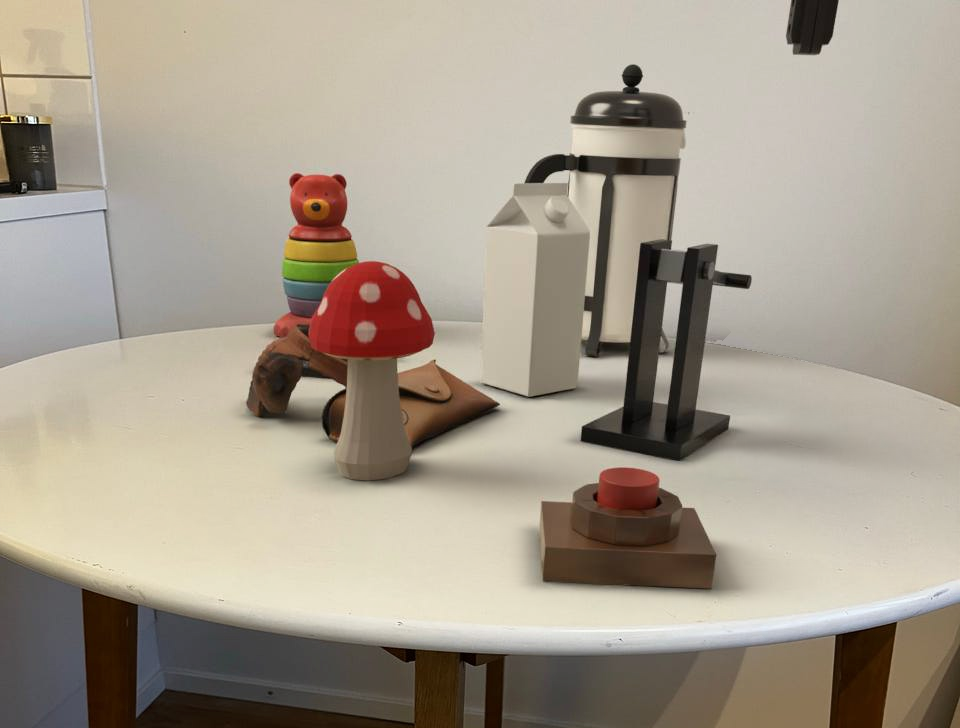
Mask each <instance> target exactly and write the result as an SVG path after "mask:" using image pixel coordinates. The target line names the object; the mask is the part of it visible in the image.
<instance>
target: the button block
mask: <svg viewBox="0 0 960 728" xmlns="http://www.w3.org/2000/svg"><path fill="white" fill-rule="evenodd" d="M598 486H599V482H594V483H587V484H585V485H583V486H581V487H579V488H578V489H575V490H574V491H573V492H572V500H571V502H568V501H548V500H542V501H541V502H540V515H539V529H538V535H539V546H540V547H539V548H540V549H539V550H540V561H541V578H542V581H543V582H553V583H554V582H555V583H575V584H577V583H578V584H595V585H596V584H598V585H599V584H600V585H617V586H619V585H621V586H638V587H639V586H640V587H641V586H642V587H660V588H661V587H664V588H666V587H667V588H685V589H704V590H705V589H709V590H711V589H712V588H713V581H714V576H715V575H714V574H715V568H716V561H717V553H716V551H715V549H714V546H713V544H712V542H711V540H710V538H709V536H708V534H707V532H706V530H705V528H704V525H703V523H702V521H701V519H700V516H699V515H698V513H697V511H696V509H695V507H683V504H682V502H681V500H680V497H679V496H678V495H677V494H674V493H672V492H671V491H668V490H666V489H664V488H662V487H659V489H658V497H657V505H656V507H655V508H654V509H648V510H642V511H633V510H619V509H614V508H610V507H606V506H603V505H601V504H600V503H598V502H597V497H598Z"/></svg>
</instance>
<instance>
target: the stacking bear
mask: <svg viewBox="0 0 960 728" xmlns="http://www.w3.org/2000/svg"><path fill="white" fill-rule="evenodd" d="M288 181H289V182H288V185H289V186H290V188H291V189H290V190H291V191H290V197H289V203H290V209H291V213H292V216H293V218H294V219H295V221H296V223H297V225H295V226H294V227H292V228H291V230H289V233H288V238H287V239H286V240H285V245H284V253H283V257H284V258H283V260H282V266H281V269H282V270H281V271H282V272H281V275H282V277H283V278H282V285H283V290H284V295H286V301H287V305H288V308H289V312H287V313H286V314H284V315H282V316H280V318H279V319H277V320H276V321H275V323H274V325H273V334H274V335H275V336H277V337H279V338H282V337H286V336H287V335H288V334H289V332H290V330H291V327H292V326H297V324H303V325H310V323H311V318H312V316H313V315H314V313H315V311H316V310H317V308H318V306H319V305H320V303H321V301H322V298H323V295H324V293H325V291H326V289H327V287H328V286H329V284H330V283H331V282H332V280H333V279H334V278H335V277H336V276H337V275H338V274H339V273H340V272H342V271H343V270H345V269H346V268H348V267H350V266H352V265H355V264H357V263H360V261H359V259H358V252H357V247H356V244H355V242H354V239H353V238H352V237H353V235H352V233H351V232H350V230H349V229H348V228H347V227H345V226H344V225H343V223H344V222H345V218H346V215H347V211H348V197H347V193H346V188H347V184H348V183H347V180H346V178H345V177H344V175H342V174H340V173H335V174H333V175H332V176H331V175H326V174H307V175H303V174H302V173H299V172H296V173H293V174H292V175H291V176H290V178H289V180H288Z"/></svg>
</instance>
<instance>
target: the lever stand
mask: <svg viewBox="0 0 960 728" xmlns="http://www.w3.org/2000/svg"><path fill="white" fill-rule="evenodd" d="M672 245H673V240H672V239H671V240H665V239H660V240H654V241H649V242H643V243H640V252H639V262H638V272H637V281H636V291H635V301H634V310H633V320H632V329H631V339H630V342H629V348H628V349H629V350H628V359H627V368H626V369H627V370H626V379H625V389H624V396H623V397H624V398H623V406H621V407H619V408H617V409H616V410H613V411H611V412H609V413H607V414H604V415H603V416H600V417H598V418H597V419H594V420H591V421H590V422H588V423H586V424H584V425H581V430H580V431H581V433H580V442H583V443H584V442H585V443H588V444H593V445H599V446H604V447H609V448H614V449H618V450H623V451H627V452H633V453H638V454H644V455H649V456H654V457H657V458H663V459H668V460H672V461H673V460H674V461H681V460H683V459H684V458H686V457H688V456H689V455H690V454H692V453H694V452H695V451H697V450H698V449H700V448H702V447H703V446H704V445H706V444H708V443H709V442H711V441H713V440H714V439H716V438H717V437H719V436H721V435H722V434H723V433H725V432H726V431H728V430H729V427H730V421H731V415H729V414H724V413H718V412H713V411H707V410H702V409H697V404H698V403H697V402H698V396H699V395H698V394H699V388H700V380H701V374H702V373H701V372H702V366H703V361H704V360H703V359H704V353H705V352H704V350H705V344H706V337H707V331H708V323H709V315H710V307H711V300H712V293H713V286H714V285H713V279H714V272H715V270H716V263H717V257H718V251H719V244H716V243H703V244H699V245H694V246H689V247H687V248H686V251H687V255H686V263H685V271H684V279H683V284H682V286H681V287H682V289H681V296H680V303H679V313H678V321H677V329H676V336H675V337H676V338H675V344H674V352H673V360H672V362H673V363H672V369H671V376H670V385H669V392H668V393H669V394H668V401H667V404H666V403H662V402H655V401H654V399H655V391H656V390H655V389H656V382H657V381H656V380H657V373H658V364H659V356H660V353H659V349H661V341H662V337H661V331H662V329H663V322H664V313H665V304H666V296H667V287H668V282H663V281H659V280H656V276H657V270H658V264H659V258H660V253H661V249H670V250H672Z"/></svg>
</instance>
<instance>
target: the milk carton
mask: <svg viewBox="0 0 960 728" xmlns="http://www.w3.org/2000/svg"><path fill="white" fill-rule="evenodd" d="M567 195H568V182H544V183H523V182H522V183H520V182H519V183H517V182H516V183H515V182H514V183H513V184H512V196H511V197H510V199H509V200H508V201H507V202H506V203H505V204H504V205H503V206H502V208H501V209H500V210H499V211H498V212H497V214H496V215H495V216H494V217H493V218H492V219H491V221H489V222H488V224H487V225H486V231H485V251H484V252H485V255H484V280H483V281H484V282H483V306H482V328H481V329H482V331H481V354H480V357H481V358H480V383H481V384H485V385H487V386H491V387H495V388H498V389H500V390H503V391H504V390H505V391H508V392H510V393H515V394H517V395H521V396H525V397H529V398H530V397H535V396H540V395H546V394H551V393H555V392H562V391H567V390H573V389H576V388H578V383H579V373H580V360H581V347H582V339H581V337H582V325H583V313H584V301H585V289H586V277H587V265H588V253H589V241H590V230H589V228H588V227H587V225H586V224H585V222H584V221H583V219H582V218H581V216H580V215H579V213H578V211H577V210H576V208H575V207H574V205H573V204H572V202H571V201H570V199H569V198H568V196H567Z"/></svg>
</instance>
